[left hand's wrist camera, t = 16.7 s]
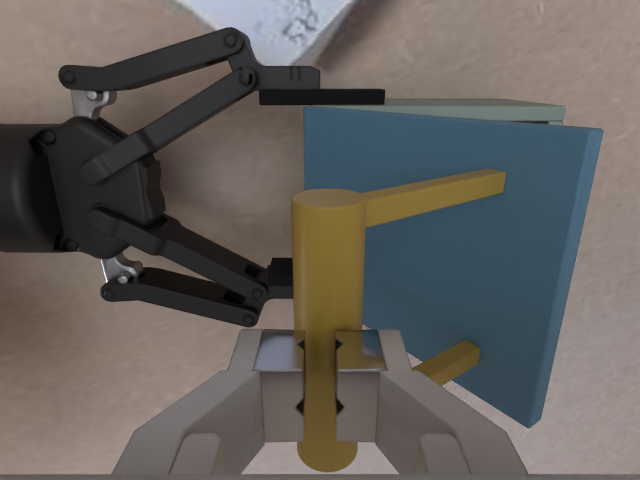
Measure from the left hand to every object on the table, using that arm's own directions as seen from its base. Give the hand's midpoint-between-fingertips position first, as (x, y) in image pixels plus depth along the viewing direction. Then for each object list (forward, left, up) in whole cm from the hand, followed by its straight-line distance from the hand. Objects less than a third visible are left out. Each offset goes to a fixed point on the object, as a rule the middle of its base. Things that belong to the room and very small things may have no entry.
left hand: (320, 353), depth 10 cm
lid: (-3, +1, -9) cm, 9 cm away
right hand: (-3, +1, -16) cm, 17 cm away
